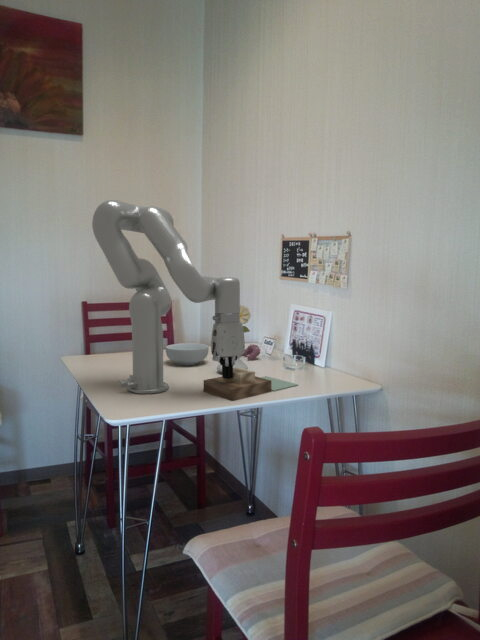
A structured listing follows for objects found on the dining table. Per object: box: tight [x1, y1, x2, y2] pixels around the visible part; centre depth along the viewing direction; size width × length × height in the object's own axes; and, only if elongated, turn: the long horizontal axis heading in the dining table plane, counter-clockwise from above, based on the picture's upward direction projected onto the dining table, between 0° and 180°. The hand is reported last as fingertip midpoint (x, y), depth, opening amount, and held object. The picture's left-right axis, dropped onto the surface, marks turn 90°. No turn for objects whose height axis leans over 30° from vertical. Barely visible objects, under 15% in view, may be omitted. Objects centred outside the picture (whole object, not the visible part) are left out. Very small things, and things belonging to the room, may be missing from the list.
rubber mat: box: [260, 375, 299, 393], centre depth 161 cm, size 12×15×1 cm
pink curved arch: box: [242, 343, 261, 361], centre depth 203 cm, size 10×5×7 cm, turn 18°
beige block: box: [224, 367, 256, 384], centre depth 151 cm, size 6×8×3 cm
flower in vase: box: [216, 304, 252, 373], centre depth 175 cm, size 13×11×25 cm
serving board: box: [203, 375, 272, 401], centre depth 151 cm, size 16×14×4 cm
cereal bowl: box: [165, 342, 210, 366], centre depth 192 cm, size 17×17×7 cm
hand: (227, 377), depth 148 cm, fingers closed
